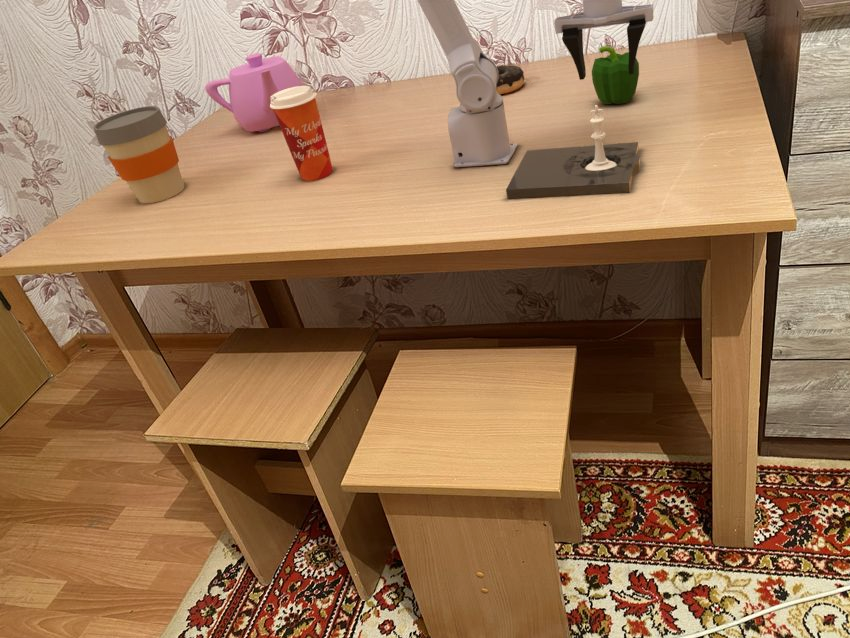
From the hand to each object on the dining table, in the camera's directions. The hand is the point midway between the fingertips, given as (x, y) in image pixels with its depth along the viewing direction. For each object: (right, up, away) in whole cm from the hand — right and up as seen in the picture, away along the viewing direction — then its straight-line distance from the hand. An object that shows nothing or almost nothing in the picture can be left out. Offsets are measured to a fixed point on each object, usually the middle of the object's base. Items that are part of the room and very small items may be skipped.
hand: (607, 75), depth 110 cm
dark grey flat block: (-5, -16, -3) cm, 18 cm away
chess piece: (-2, -16, -4) cm, 17 cm away
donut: (-15, +13, +41) cm, 45 cm away
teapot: (-66, +10, +52) cm, 85 cm away
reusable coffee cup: (-82, -13, +27) cm, 87 cm away
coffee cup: (-50, -11, +19) cm, 54 cm away
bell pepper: (+6, +3, +21) cm, 22 cm away
